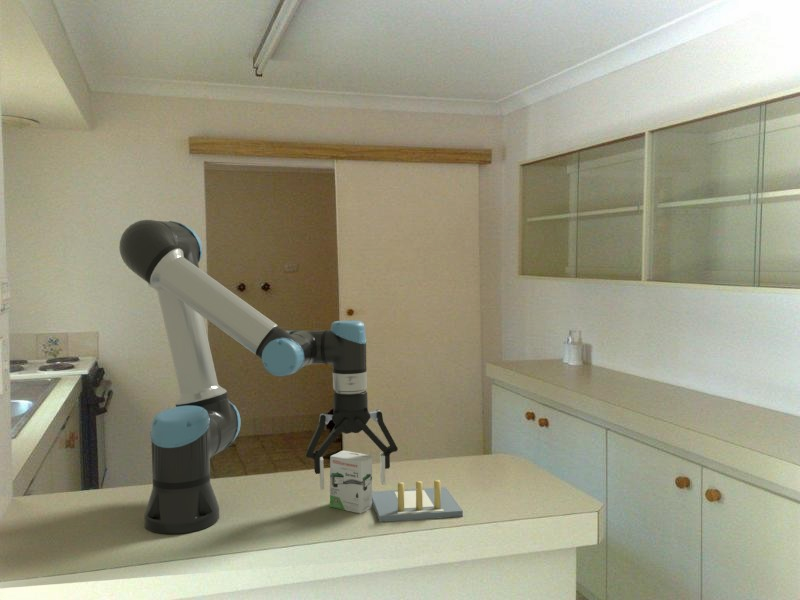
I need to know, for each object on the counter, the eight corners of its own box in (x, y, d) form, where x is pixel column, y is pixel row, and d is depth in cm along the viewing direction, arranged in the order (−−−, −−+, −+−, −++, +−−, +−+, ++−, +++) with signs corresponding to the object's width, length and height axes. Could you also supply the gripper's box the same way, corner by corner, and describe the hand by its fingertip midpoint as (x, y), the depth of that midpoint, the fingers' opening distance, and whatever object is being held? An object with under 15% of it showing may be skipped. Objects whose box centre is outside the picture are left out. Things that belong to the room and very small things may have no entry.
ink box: (328, 507, 160) (328, 455, 159) (341, 500, 164) (340, 449, 163) (361, 514, 155) (361, 460, 155) (373, 507, 160) (373, 454, 159)
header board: (379, 521, 151) (379, 488, 150) (370, 496, 167) (369, 466, 166) (462, 516, 154) (462, 483, 153) (445, 492, 170) (445, 462, 169)
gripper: (293, 397, 152) (296, 495, 154) (408, 390, 157) (411, 486, 158) (292, 390, 160) (295, 484, 161) (403, 384, 164) (405, 476, 165)
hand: (352, 485), depth 159 cm, fingers open, 13 cm apart
